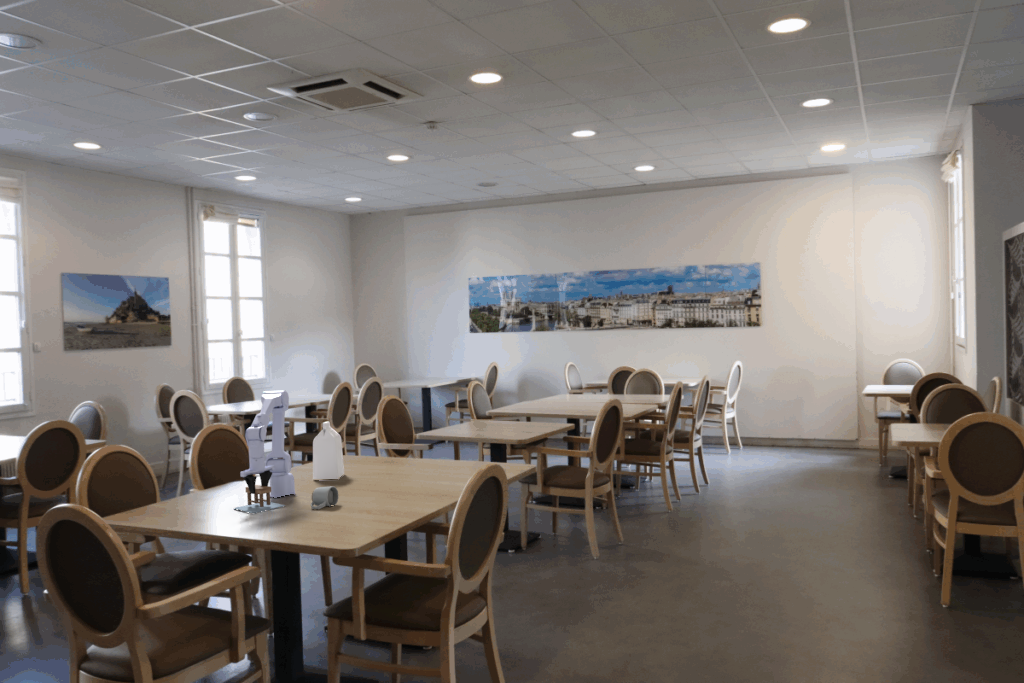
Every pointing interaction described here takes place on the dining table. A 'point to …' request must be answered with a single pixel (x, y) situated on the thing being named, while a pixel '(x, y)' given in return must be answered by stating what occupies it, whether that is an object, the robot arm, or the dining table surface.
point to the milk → (327, 454)
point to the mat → (257, 508)
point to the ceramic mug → (324, 497)
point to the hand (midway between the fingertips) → (258, 492)
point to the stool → (260, 491)
